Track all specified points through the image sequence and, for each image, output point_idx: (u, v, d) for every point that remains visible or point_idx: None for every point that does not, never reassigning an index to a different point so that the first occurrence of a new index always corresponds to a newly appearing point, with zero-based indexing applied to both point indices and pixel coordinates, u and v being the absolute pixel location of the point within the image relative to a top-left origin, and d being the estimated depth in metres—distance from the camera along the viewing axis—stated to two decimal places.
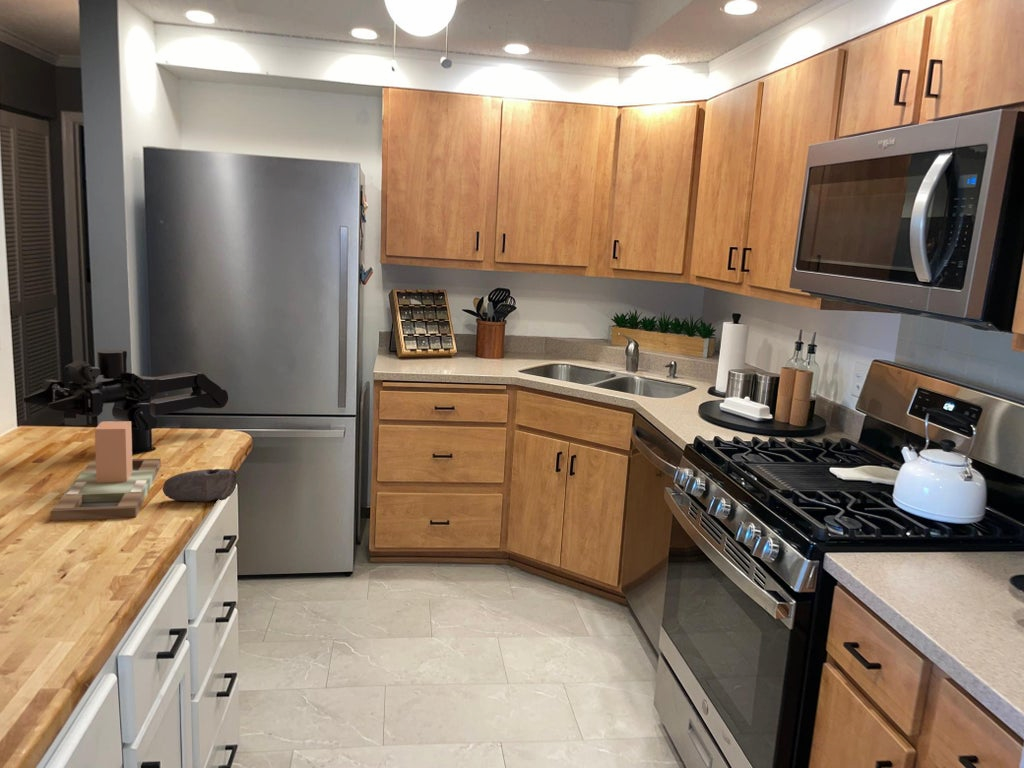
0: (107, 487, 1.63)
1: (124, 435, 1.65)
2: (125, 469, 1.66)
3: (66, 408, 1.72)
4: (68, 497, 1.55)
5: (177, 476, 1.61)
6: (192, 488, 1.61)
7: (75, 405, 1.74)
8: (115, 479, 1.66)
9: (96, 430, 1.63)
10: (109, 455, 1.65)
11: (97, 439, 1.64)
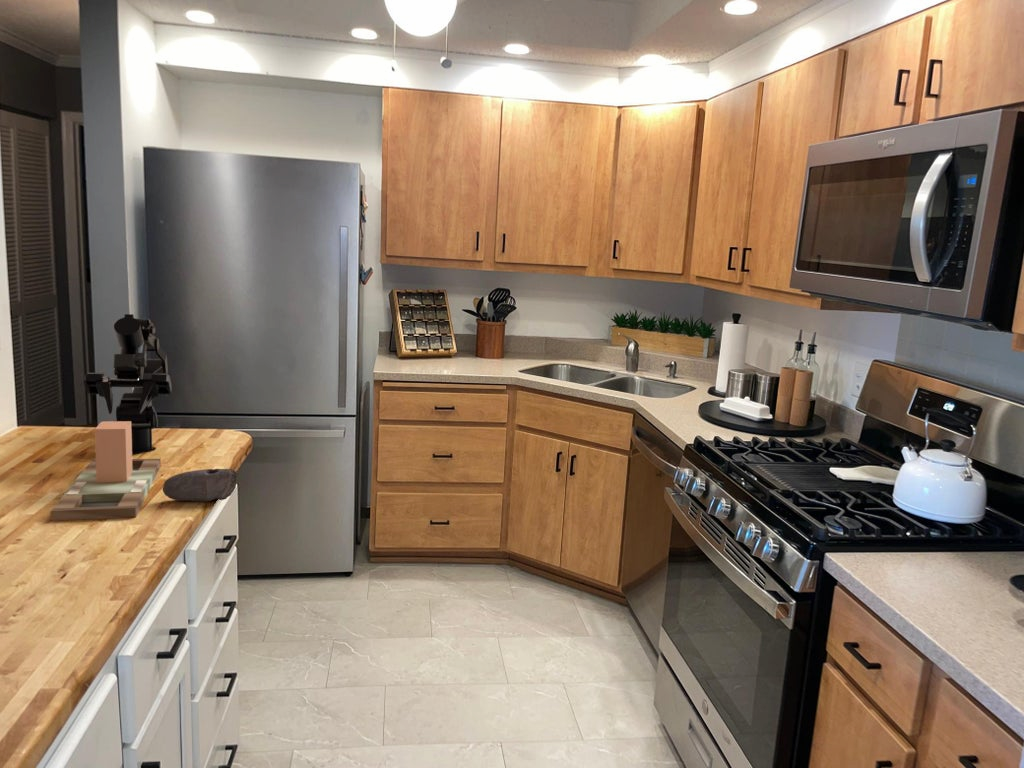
0: (107, 487, 1.63)
1: (124, 435, 1.65)
2: (125, 469, 1.66)
3: (146, 403, 1.84)
4: (68, 497, 1.55)
5: (177, 476, 1.61)
6: (192, 488, 1.61)
7: (147, 394, 1.85)
8: (115, 479, 1.66)
9: (96, 430, 1.63)
10: (109, 455, 1.65)
11: (97, 439, 1.64)
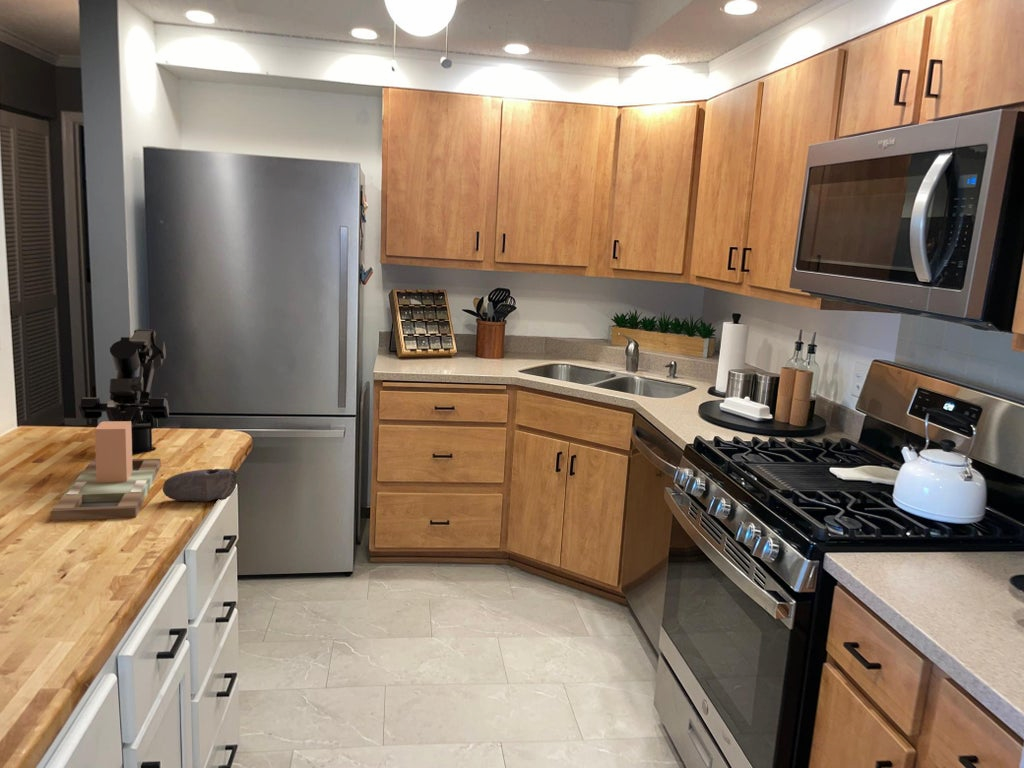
0: (107, 487, 1.63)
1: (124, 435, 1.65)
2: (125, 469, 1.66)
3: None
4: (68, 497, 1.55)
5: (177, 476, 1.61)
6: (192, 488, 1.61)
7: (130, 419, 1.79)
8: (115, 479, 1.66)
9: (96, 430, 1.63)
10: (109, 455, 1.65)
11: (97, 439, 1.64)
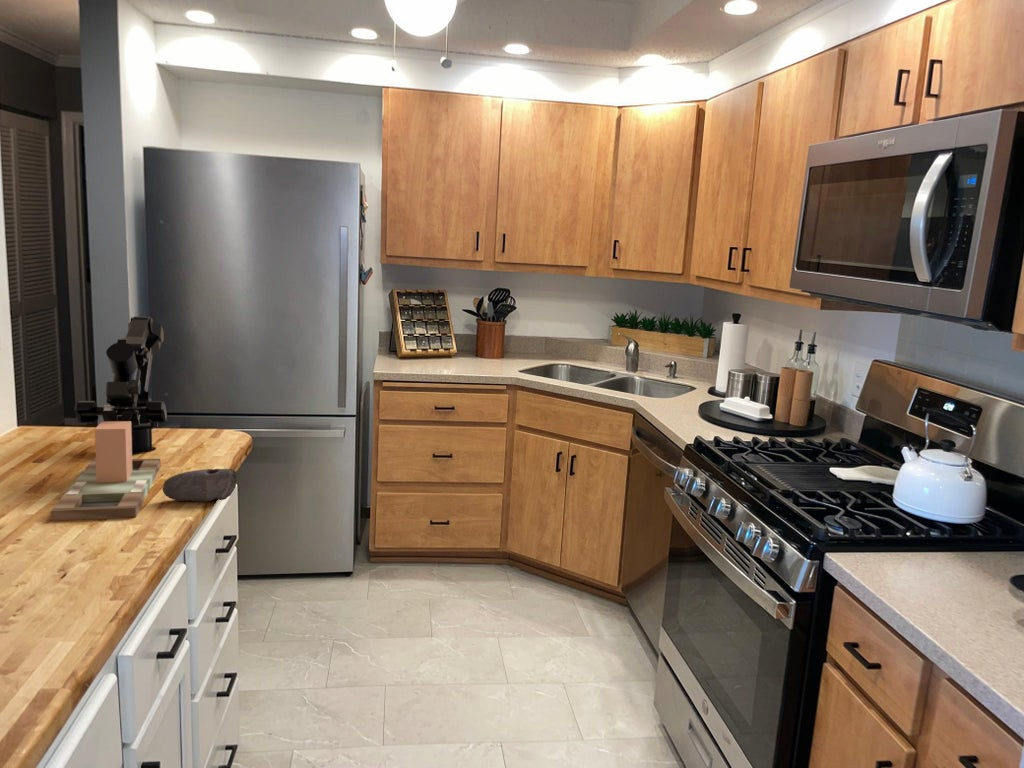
0: (107, 487, 1.63)
1: (124, 435, 1.65)
2: (125, 469, 1.66)
3: None
4: (68, 497, 1.55)
5: (177, 476, 1.61)
6: (192, 488, 1.61)
7: None
8: (115, 479, 1.66)
9: (96, 430, 1.63)
10: (109, 455, 1.65)
11: (97, 439, 1.64)
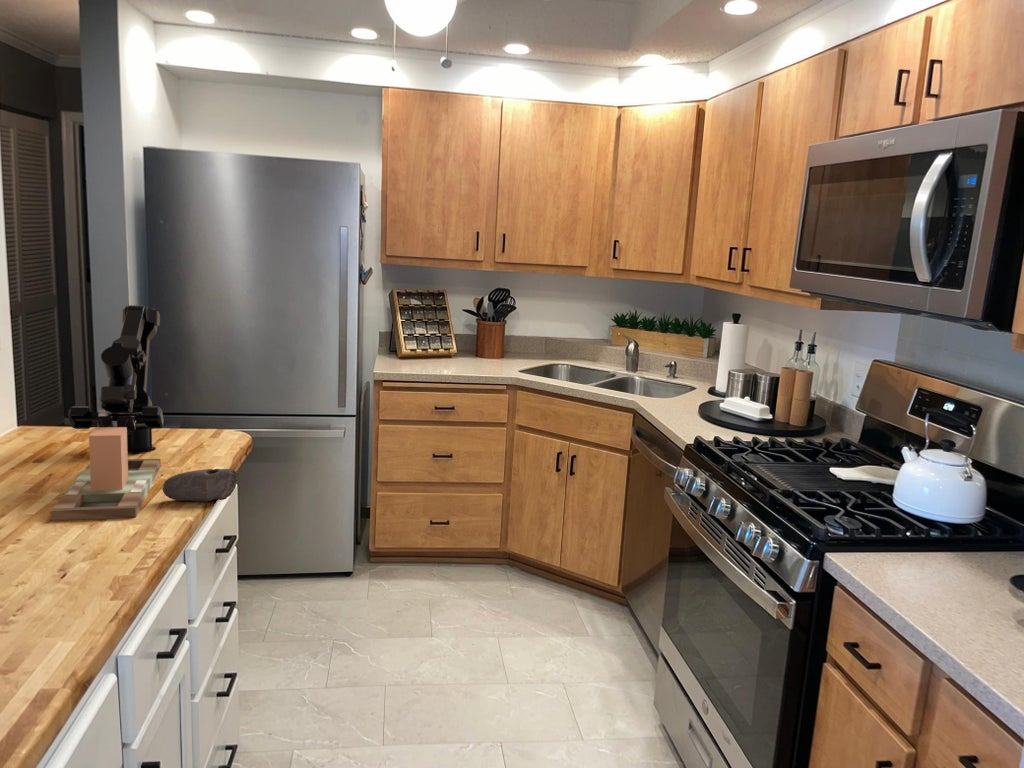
0: None
1: (119, 442, 1.60)
2: (120, 477, 1.61)
3: None
4: (68, 497, 1.55)
5: (177, 476, 1.61)
6: (192, 488, 1.61)
7: None
8: (110, 487, 1.61)
9: (90, 437, 1.58)
10: (104, 462, 1.60)
11: (91, 446, 1.58)
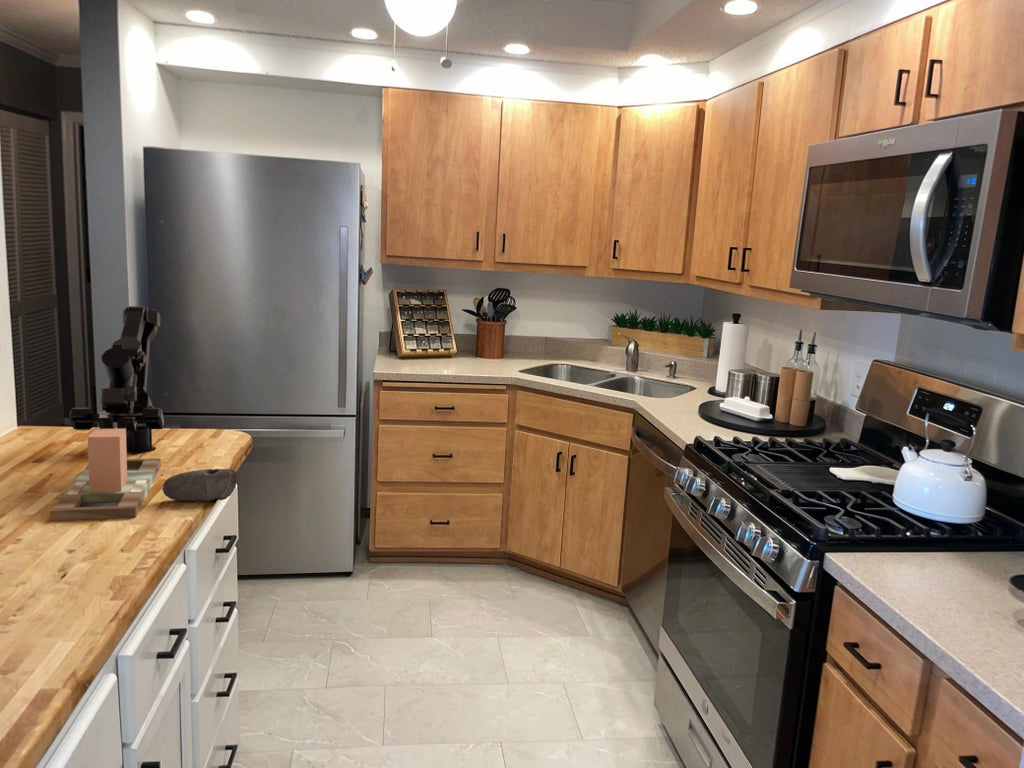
0: None
1: (118, 443, 1.59)
2: (119, 478, 1.60)
3: None
4: (68, 497, 1.55)
5: (177, 476, 1.61)
6: (192, 488, 1.61)
7: None
8: (109, 489, 1.60)
9: (89, 438, 1.57)
10: (103, 464, 1.59)
11: (90, 447, 1.57)
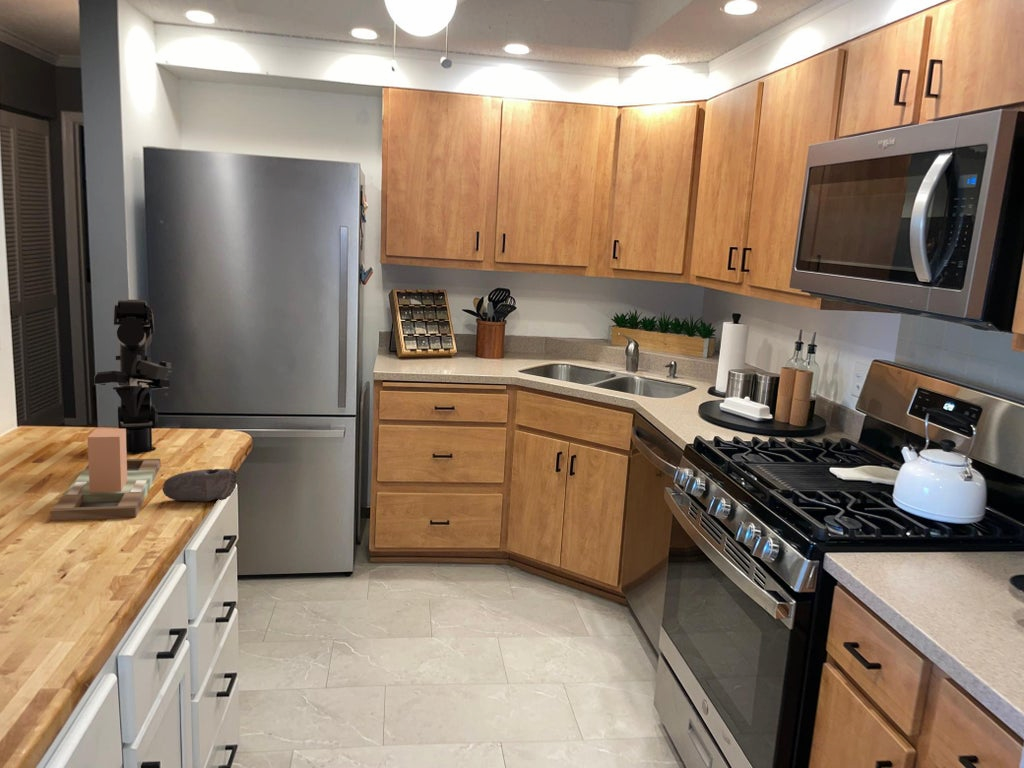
0: None
1: (118, 443, 1.59)
2: (119, 478, 1.60)
3: None
4: (68, 497, 1.55)
5: (177, 476, 1.61)
6: (192, 488, 1.61)
7: None
8: (109, 489, 1.60)
9: (89, 438, 1.57)
10: (103, 464, 1.59)
11: (90, 447, 1.57)
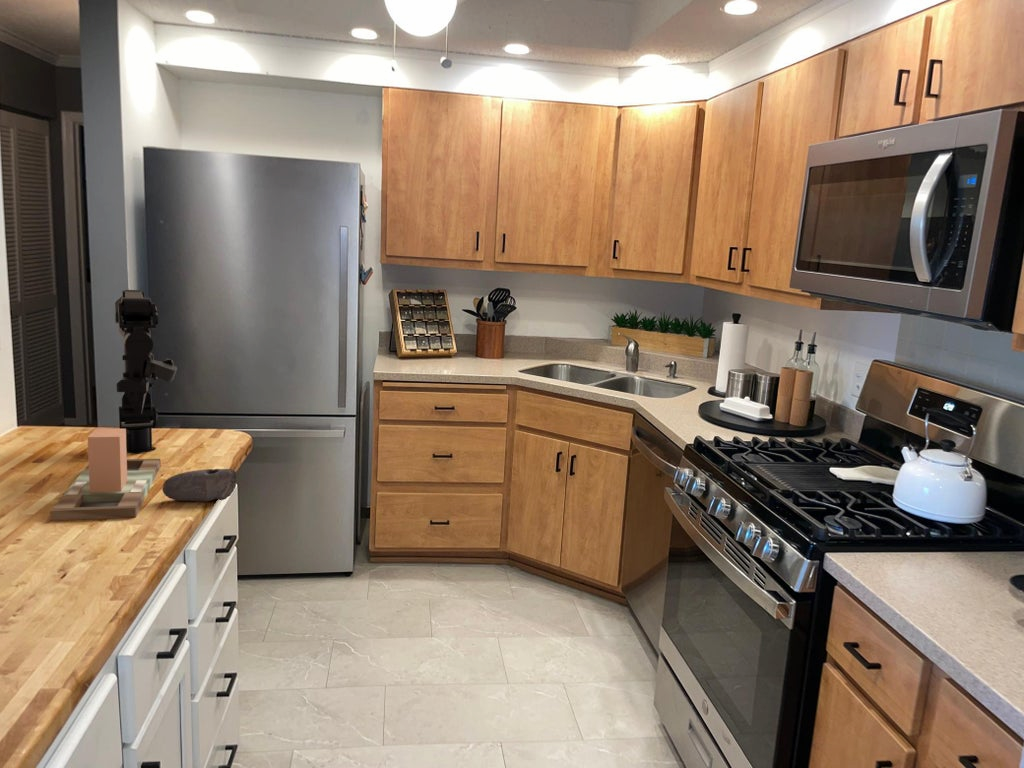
0: None
1: (118, 443, 1.59)
2: (119, 478, 1.60)
3: None
4: (68, 497, 1.55)
5: (177, 476, 1.61)
6: (192, 488, 1.61)
7: None
8: (109, 489, 1.60)
9: (89, 438, 1.57)
10: (103, 464, 1.59)
11: (90, 447, 1.57)
